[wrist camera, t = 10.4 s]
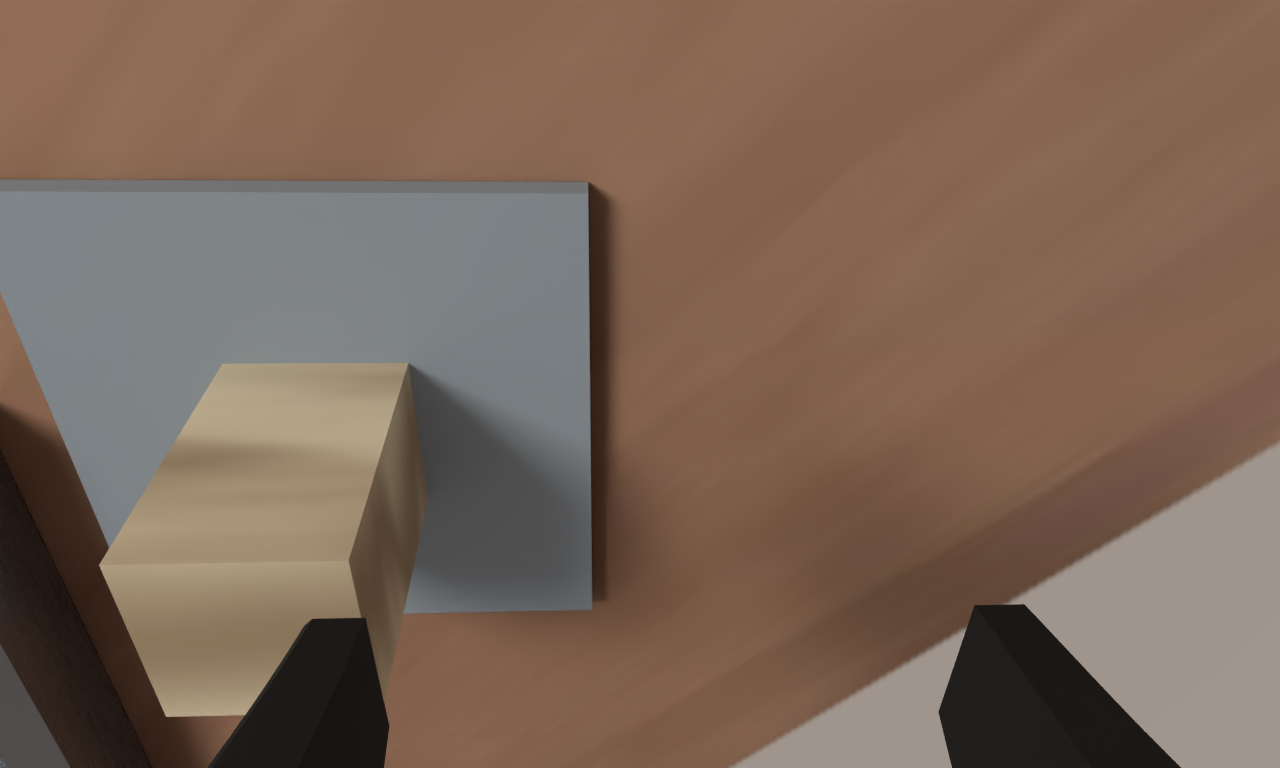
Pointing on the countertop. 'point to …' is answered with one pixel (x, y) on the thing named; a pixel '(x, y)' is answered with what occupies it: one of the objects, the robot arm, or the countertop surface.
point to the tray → (50, 662)
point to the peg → (272, 528)
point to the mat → (331, 343)
